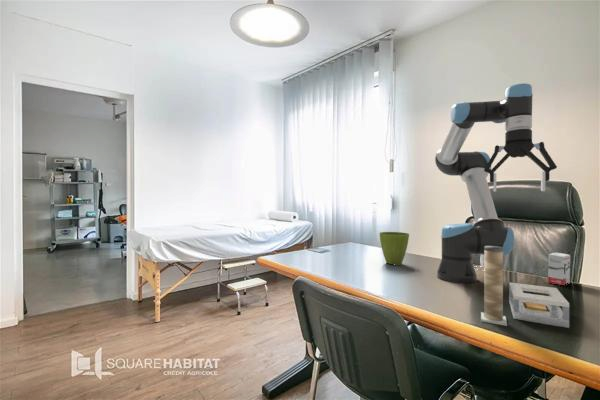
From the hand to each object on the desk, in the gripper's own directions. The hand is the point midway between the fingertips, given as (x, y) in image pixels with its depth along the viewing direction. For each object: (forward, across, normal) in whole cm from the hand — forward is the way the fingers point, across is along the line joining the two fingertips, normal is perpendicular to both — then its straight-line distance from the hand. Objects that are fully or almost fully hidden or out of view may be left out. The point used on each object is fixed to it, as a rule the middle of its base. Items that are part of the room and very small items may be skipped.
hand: (518, 191), depth 104 cm
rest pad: (+37, -8, -28) cm, 47 cm away
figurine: (+37, -10, +43) cm, 58 cm away
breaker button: (+37, +3, -16) cm, 40 cm away
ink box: (+37, +16, +29) cm, 50 cm away
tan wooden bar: (+36, -8, -28) cm, 46 cm away
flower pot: (+37, -50, +31) cm, 69 cm away
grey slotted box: (+37, +3, -16) cm, 40 cm away
